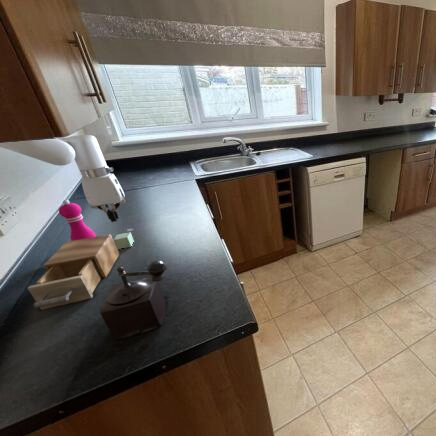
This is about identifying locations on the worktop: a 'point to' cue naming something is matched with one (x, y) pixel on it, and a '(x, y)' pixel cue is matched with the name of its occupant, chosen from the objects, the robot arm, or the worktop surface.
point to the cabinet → (87, 253)
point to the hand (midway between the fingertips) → (115, 220)
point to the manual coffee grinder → (135, 303)
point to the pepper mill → (75, 221)
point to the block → (123, 240)
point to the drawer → (66, 284)
